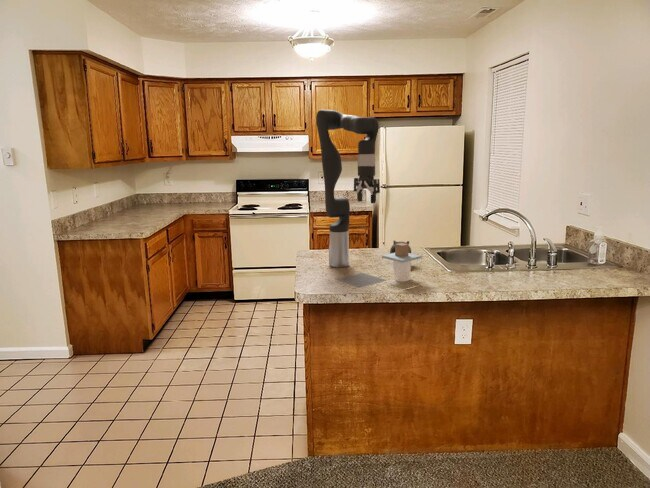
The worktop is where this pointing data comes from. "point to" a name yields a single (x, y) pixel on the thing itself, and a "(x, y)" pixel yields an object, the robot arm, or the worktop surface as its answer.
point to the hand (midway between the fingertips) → (366, 202)
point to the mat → (360, 280)
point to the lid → (401, 254)
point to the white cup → (401, 270)
